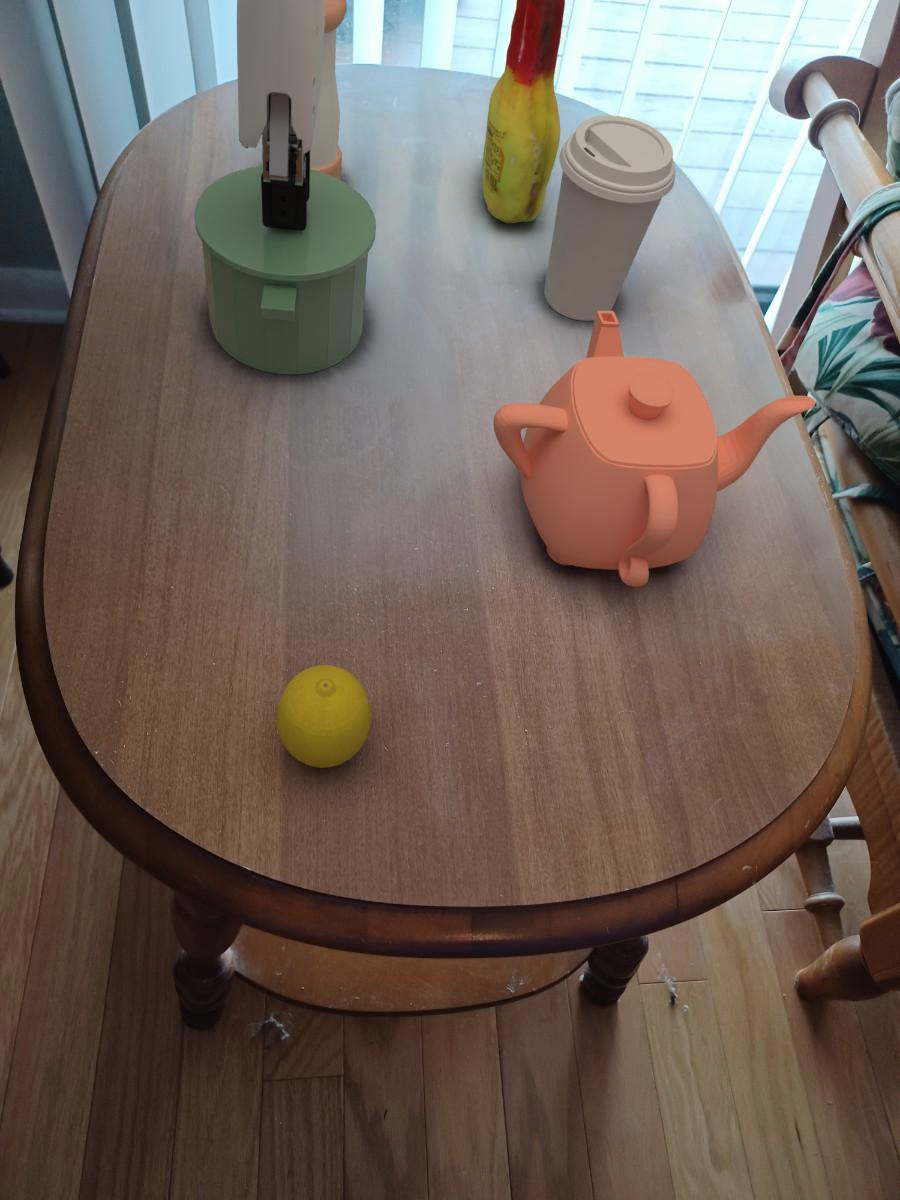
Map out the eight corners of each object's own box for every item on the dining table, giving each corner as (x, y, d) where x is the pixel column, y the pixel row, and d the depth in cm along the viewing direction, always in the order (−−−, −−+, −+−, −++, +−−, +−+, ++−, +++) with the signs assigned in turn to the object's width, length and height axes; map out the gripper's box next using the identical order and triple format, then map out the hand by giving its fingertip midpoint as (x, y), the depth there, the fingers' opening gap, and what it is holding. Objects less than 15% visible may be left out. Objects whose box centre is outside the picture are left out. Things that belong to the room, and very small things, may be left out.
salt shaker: (253, 168, 92) (243, -53, 76) (322, 157, 95) (327, -60, 79) (282, 212, 89) (279, -9, 73) (353, 199, 91) (364, -18, 76)
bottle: (468, 163, 97) (502, -56, 81) (528, 167, 98) (574, -48, 82) (481, 235, 91) (522, 14, 74) (546, 239, 92) (600, 21, 75)
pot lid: (184, 279, 69) (175, 201, 64) (207, 170, 76) (200, 93, 71) (372, 296, 70) (378, 223, 65) (376, 188, 78) (382, 114, 73)
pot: (198, 391, 75) (186, 292, 67) (223, 248, 85) (216, 148, 77) (358, 404, 76) (365, 309, 68) (365, 262, 86) (371, 165, 79)
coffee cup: (517, 264, 89) (552, 107, 77) (613, 264, 91) (662, 111, 79) (541, 333, 84) (582, 177, 72) (641, 331, 86) (699, 179, 74)
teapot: (568, 407, 79) (613, 272, 68) (746, 514, 75) (824, 389, 64) (457, 520, 71) (487, 387, 60) (649, 647, 67) (720, 531, 56)
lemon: (264, 725, 60) (260, 661, 53) (345, 694, 62) (351, 629, 55) (298, 801, 57) (298, 744, 51) (381, 767, 59) (392, 707, 53)
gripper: (234, -126, 61) (246, 145, 76) (202, -5, 52) (224, 276, 67) (351, -109, 62) (340, 156, 77) (341, 13, 53) (331, 286, 68)
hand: (286, 210), depth 72 cm, fingers closed on pot lid, 2 cm apart
